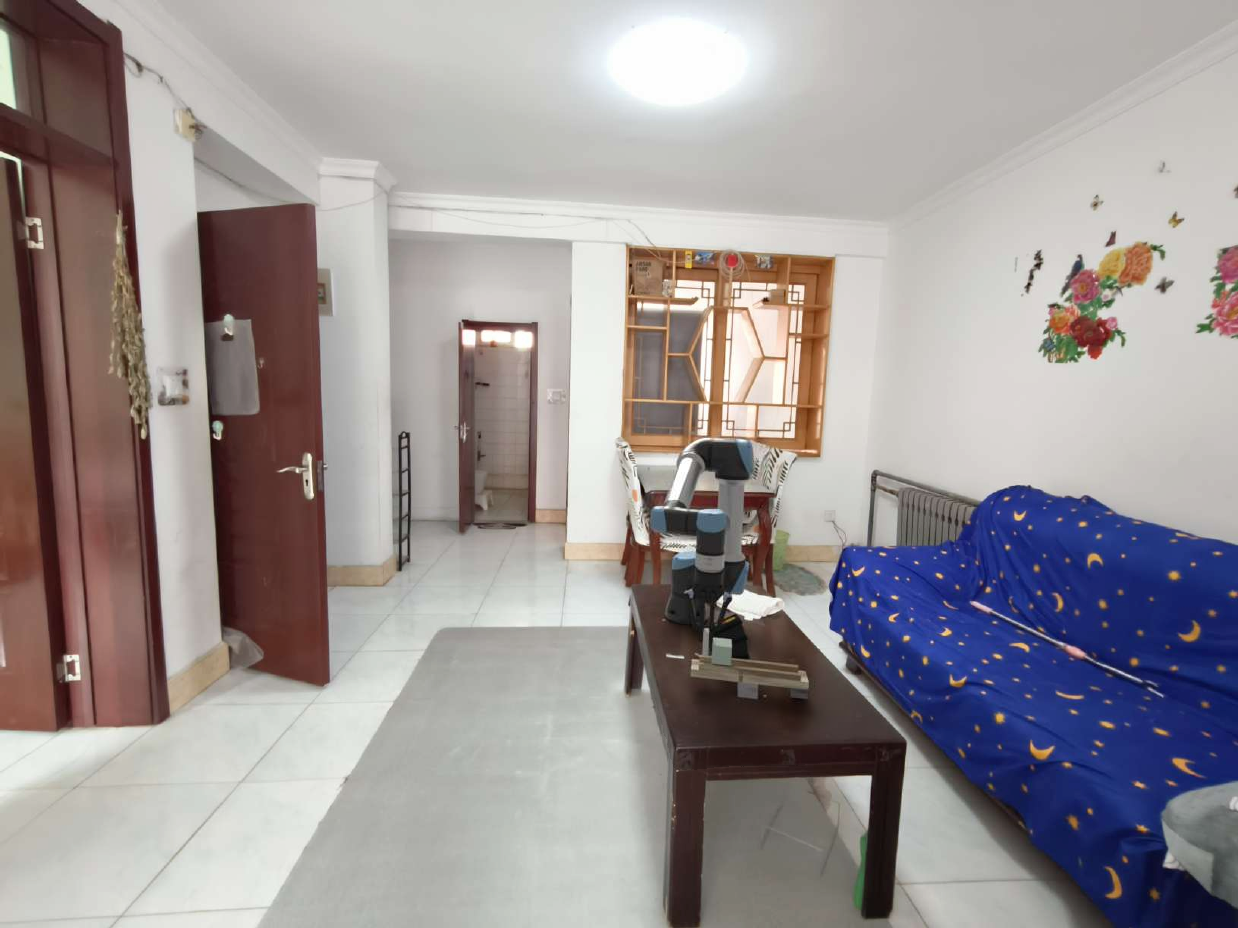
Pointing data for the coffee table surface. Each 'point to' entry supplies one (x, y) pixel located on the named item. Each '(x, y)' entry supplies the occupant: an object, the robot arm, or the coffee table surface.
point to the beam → (753, 675)
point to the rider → (721, 651)
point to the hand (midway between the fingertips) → (705, 653)
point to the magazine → (733, 636)
